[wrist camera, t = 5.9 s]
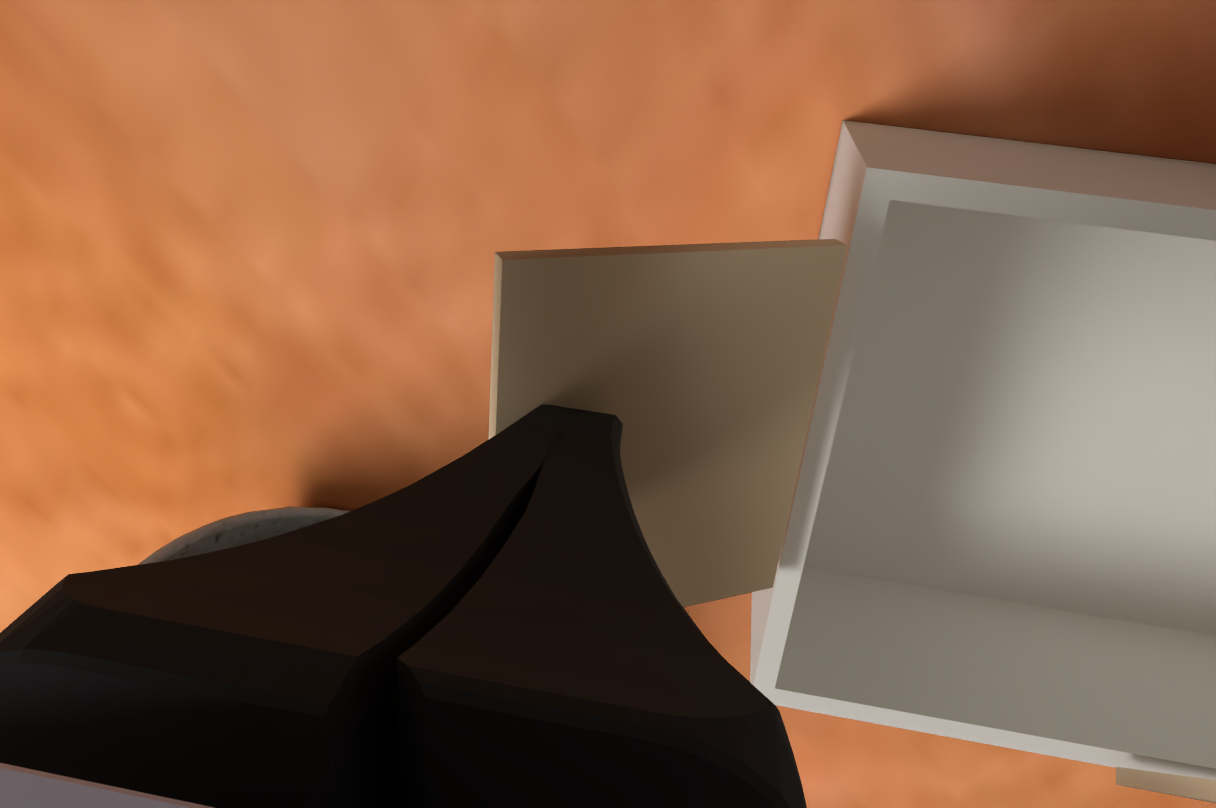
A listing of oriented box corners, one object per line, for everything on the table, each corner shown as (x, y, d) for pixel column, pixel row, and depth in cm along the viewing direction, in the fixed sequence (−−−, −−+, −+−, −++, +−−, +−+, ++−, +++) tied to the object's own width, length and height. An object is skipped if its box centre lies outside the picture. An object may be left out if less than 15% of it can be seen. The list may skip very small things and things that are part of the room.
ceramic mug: (226, 710, 26) (38, 980, 19) (218, 473, 22) (-21, 704, 15) (583, 796, 25) (522, 1105, 18) (637, 570, 21) (586, 852, 15)
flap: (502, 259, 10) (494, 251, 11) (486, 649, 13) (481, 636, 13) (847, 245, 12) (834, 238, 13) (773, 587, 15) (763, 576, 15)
